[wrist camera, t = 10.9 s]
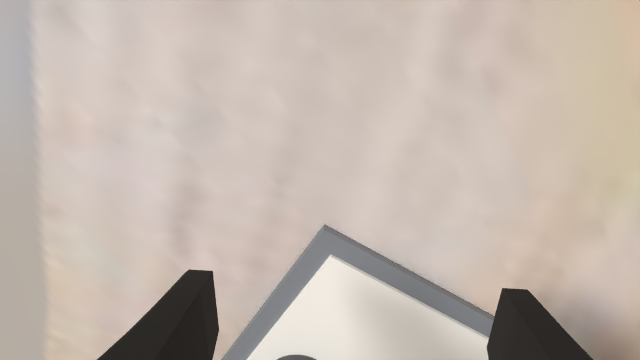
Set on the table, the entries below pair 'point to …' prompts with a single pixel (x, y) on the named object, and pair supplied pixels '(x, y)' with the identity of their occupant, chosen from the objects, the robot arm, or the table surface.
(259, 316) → the writing pad
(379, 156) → the table surface
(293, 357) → the orange-topped grey cylinder
